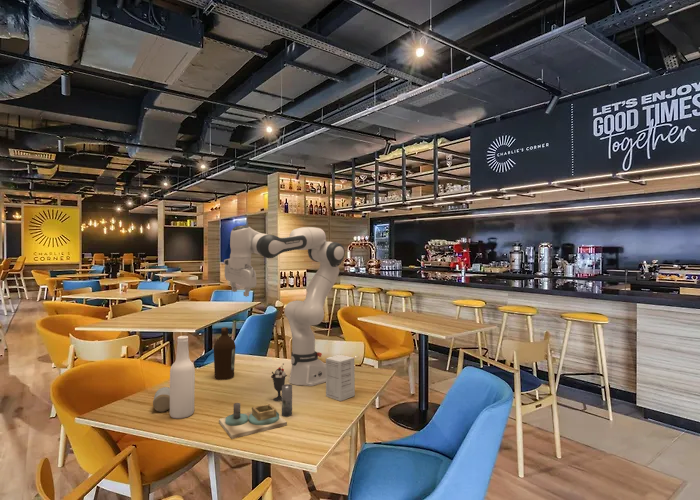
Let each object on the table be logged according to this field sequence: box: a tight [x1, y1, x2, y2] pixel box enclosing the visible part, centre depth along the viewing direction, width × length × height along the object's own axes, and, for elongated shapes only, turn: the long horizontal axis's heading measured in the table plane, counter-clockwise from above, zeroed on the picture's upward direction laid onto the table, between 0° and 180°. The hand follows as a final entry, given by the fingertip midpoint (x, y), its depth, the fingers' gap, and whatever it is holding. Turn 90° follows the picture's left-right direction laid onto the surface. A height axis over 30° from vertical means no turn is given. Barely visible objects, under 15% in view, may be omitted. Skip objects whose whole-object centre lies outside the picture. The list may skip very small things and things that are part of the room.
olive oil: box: [213, 326, 236, 381], centre depth 200 cm, size 11×11×25 cm
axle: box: [281, 383, 293, 418], centre depth 152 cm, size 4×4×11 cm
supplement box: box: [325, 354, 356, 402], centre depth 173 cm, size 10×9×17 cm
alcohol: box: [169, 335, 196, 420], centre depth 153 cm, size 9×9×30 cm
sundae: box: [271, 363, 288, 402], centre depth 169 cm, size 7×7×15 cm
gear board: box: [218, 402, 288, 440], centre depth 144 cm, size 20×16×7 cm
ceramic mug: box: [152, 386, 170, 413], centre depth 158 cm, size 11×8×8 cm
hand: (240, 293), depth 173 cm, fingers open, 8 cm apart
